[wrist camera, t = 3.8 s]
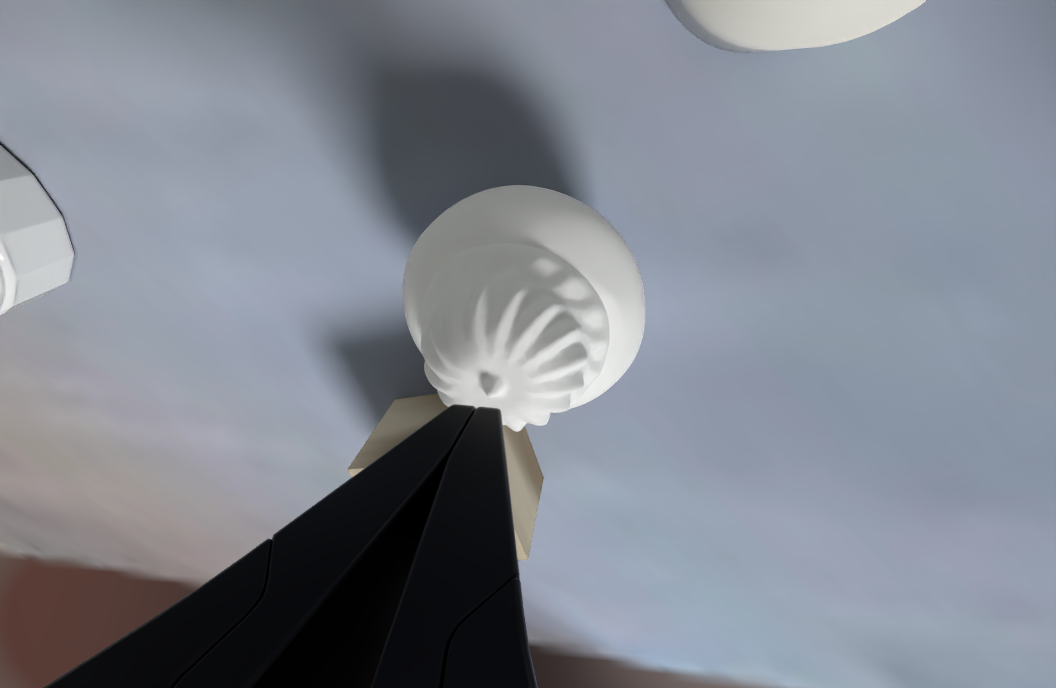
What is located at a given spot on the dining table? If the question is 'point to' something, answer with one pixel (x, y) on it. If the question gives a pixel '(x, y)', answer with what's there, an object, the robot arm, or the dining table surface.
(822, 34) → the white rounded lump
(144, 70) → the dining table surface
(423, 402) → the maple block
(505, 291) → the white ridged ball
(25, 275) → the white cup
